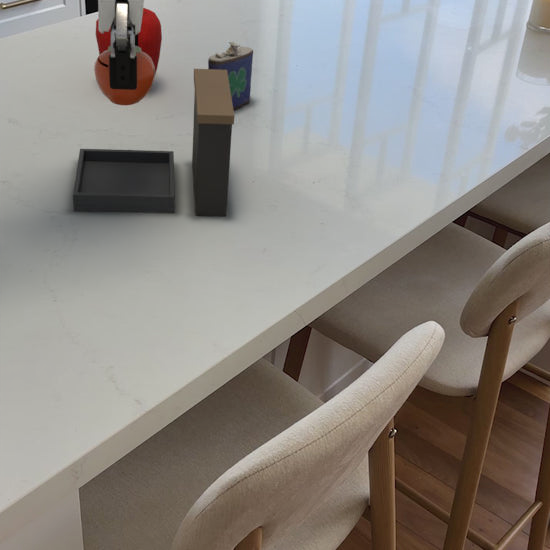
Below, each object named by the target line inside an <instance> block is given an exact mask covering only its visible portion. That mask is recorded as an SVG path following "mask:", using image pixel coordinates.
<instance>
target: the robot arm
mask: <svg viewBox="0 0 550 550" xmlns="http://www.w3.org/2000/svg"><path fill="white" fill-rule="evenodd" d="M144 4H145V0H97V5H98V6H97V9H98V10H97V11H98V12H97V13H98V14H97V15H98V16H97V17H98V18H97V20H98V30H99V31H100V32H101V33H103V34H104V31H106V32H109V29H110V27H111V31H110V33H111V55H109V76H110V88H111V89H125V90H135V89H136V88H137V56H135V46H138V33H139V32H140V30H141V23H142V15H143V8H144V6H145V5H144ZM127 39H128V41H127Z"/></svg>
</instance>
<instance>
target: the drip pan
mask: <svg viewBox="0 0 550 550" xmlns="http://www.w3.org/2000/svg"><path fill="white" fill-rule="evenodd" d="M174 153H175V152H174V151H173V150H145V149H144V150H143V149H142V150H140V149H112V148H111V149H110V148H108V149H106V148H104V149H103V148H80V149H79V153H78V160H77V166H76V172H75V176H74V177H75V179H74V184H73V189H72V205H73V206H72V208H73V212H105V213H106V212H107V213H108V212H109V213H110V212H111V213H112V212H113V213H114V212H115V213H160V214H161V213H167V214H174V213H175V210H176V209H175V208H176V207H175V206H176V205H175V203H176V202H175V201H176V193H175V191H176V190H175V189H176V188H175V158H174V157H175V156H174V155H175V154H174Z"/></svg>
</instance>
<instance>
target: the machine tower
mask: <svg viewBox="0 0 550 550" xmlns="http://www.w3.org/2000/svg"><path fill="white" fill-rule="evenodd" d="M193 84H194V85H193V86H194V87H193V88H194V98H193V99H194V100H193V101H194V102H193V126H192V127H193V129H192V153H191V155H192V156H191V166H192V167H191V168H192V169H191V170H192V186H193V202H194V203H193V204H194V216H196V217H227V213H228V211H227V210H228V195H229V179H230V163H231V149H232V147H231V146H232V135H233V134H232V131H233V125H234V124H235V112H234V110H233V104H232V98H231V91H230V85H229V79H228V73H227V70H216V69H208V68H193Z"/></svg>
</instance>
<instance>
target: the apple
mask: <svg viewBox="0 0 550 550" xmlns="http://www.w3.org/2000/svg"><path fill="white" fill-rule="evenodd" d="M110 31H111V27H110V29H109V32H106V31H104V34H103V33H101V32H100V31H99V30H98V19H96V21H95V39H96V43H97V49H98V56H99V55H100V54H101V53H103V52H104V51H106V50H108V47H109V46H111V33H110ZM162 41H163V35H162V24H161V21H160V19H159V17H158V15H157V14H156V12H154V11H153V10H151V9H148V8H146V7H143V15H142V23H141V30H140V32H139V33H138V47H140V48H141V51H143V52H145V53H146V54H147V55H148V56H149V57H150V58H151V59H152V61H153V63H154V66H155V77H154V79H155V78H156V74H157V70H158V65H159V62H160V61H159V60H160V57H161V56H160V55H161V50H162V49H161V47H162Z"/></svg>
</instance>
